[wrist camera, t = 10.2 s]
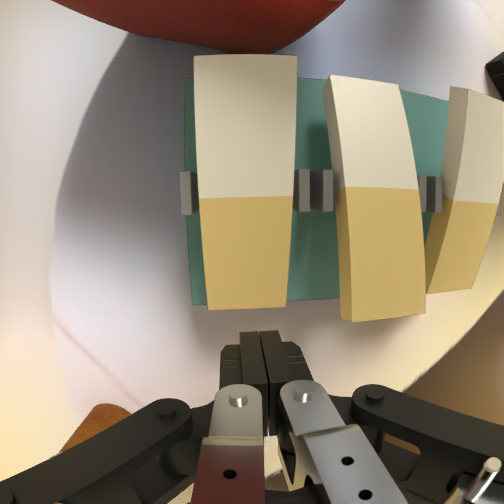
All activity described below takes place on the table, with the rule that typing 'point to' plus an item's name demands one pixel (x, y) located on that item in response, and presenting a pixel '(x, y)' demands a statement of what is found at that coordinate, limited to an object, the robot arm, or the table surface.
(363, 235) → the rocker
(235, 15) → the plant pot
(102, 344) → the table surface
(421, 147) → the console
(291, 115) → the rocker
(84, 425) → the disposable coffee cup
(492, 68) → the portable radio
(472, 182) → the rocker
